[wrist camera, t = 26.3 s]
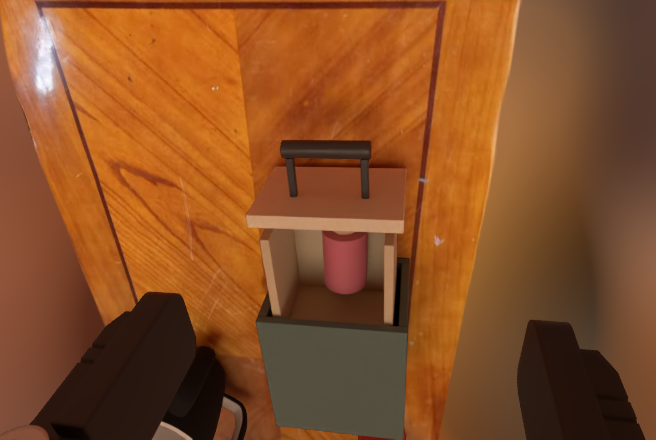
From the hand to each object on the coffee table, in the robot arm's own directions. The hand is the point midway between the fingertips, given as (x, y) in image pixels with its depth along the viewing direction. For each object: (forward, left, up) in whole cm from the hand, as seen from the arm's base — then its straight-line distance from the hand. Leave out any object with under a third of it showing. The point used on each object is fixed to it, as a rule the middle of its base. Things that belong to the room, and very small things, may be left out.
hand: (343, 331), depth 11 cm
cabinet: (+5, +30, -32) cm, 44 cm away
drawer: (+5, +16, -31) cm, 35 cm away
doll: (+5, +22, -28) cm, 35 cm away
